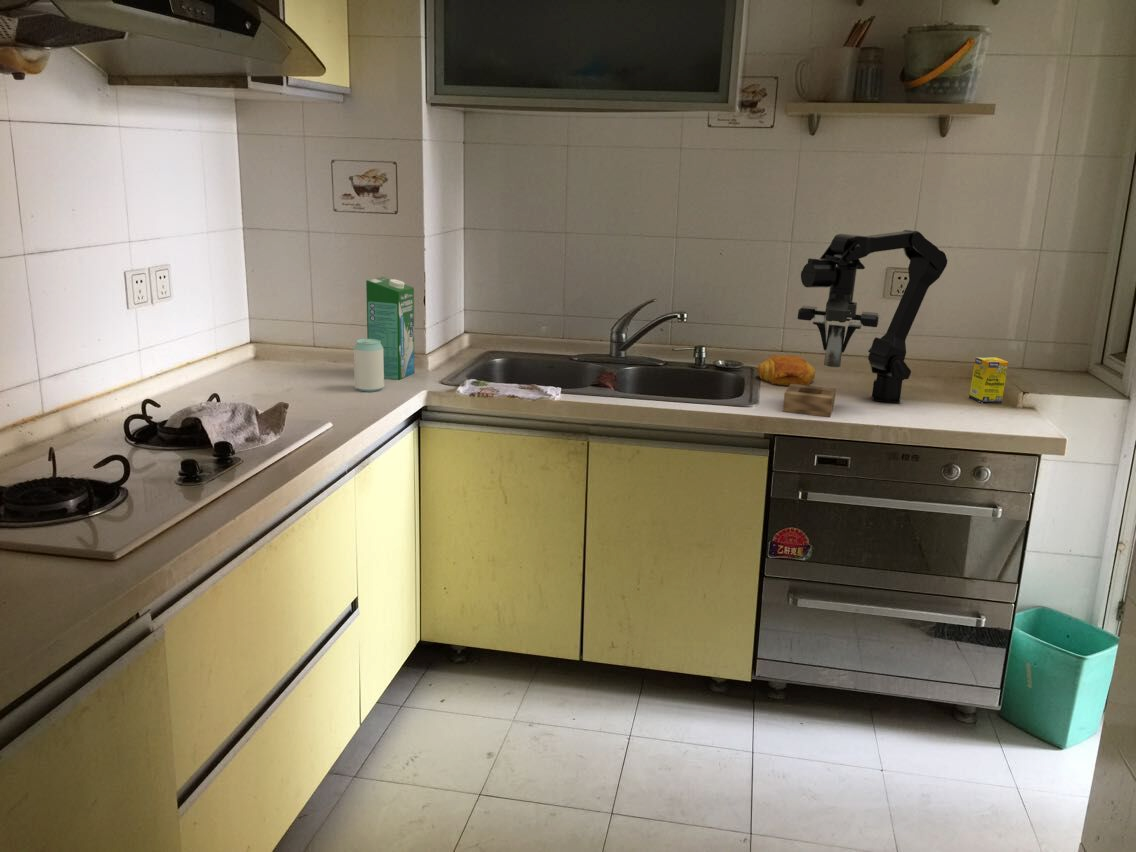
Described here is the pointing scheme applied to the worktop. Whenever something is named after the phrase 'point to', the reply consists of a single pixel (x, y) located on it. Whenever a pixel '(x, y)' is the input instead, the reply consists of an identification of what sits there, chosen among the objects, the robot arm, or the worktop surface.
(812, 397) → the bore block
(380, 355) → the can
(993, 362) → the supplement box
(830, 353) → the pin
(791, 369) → the croissant
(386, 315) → the milk carton
